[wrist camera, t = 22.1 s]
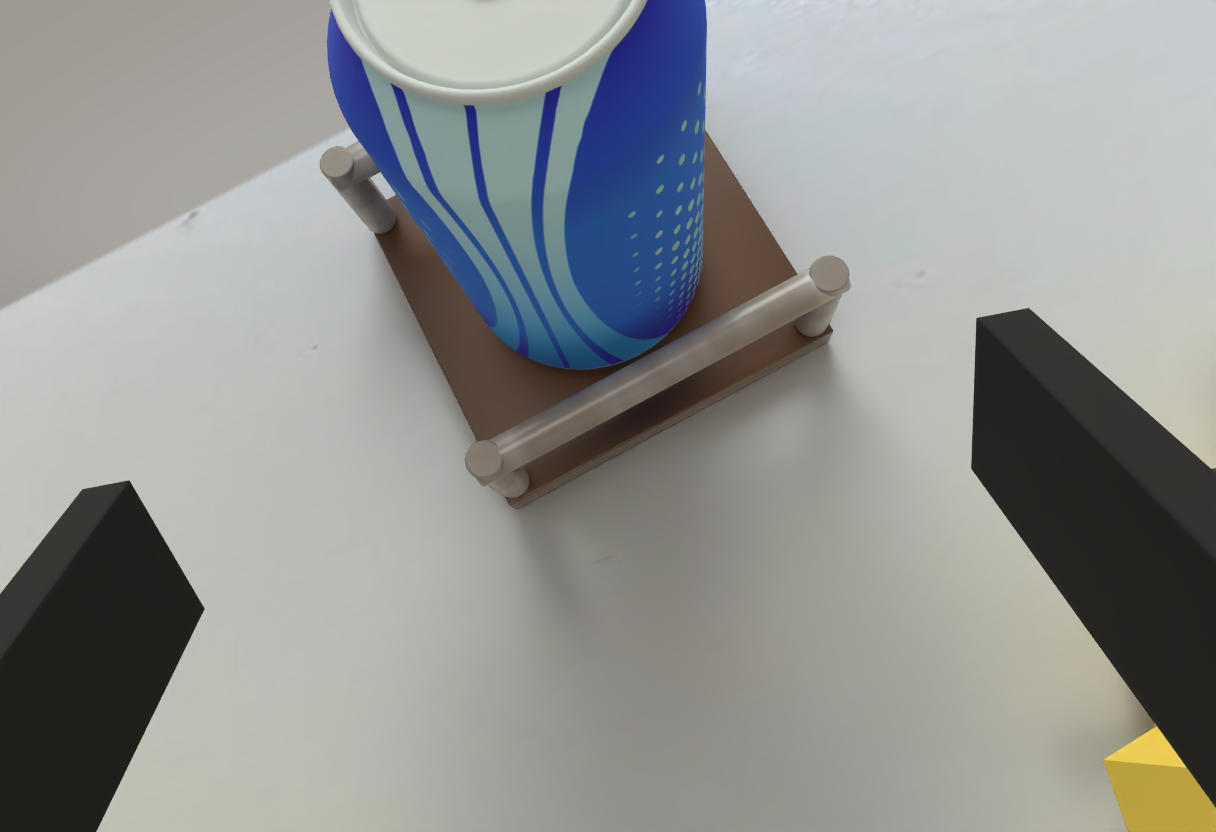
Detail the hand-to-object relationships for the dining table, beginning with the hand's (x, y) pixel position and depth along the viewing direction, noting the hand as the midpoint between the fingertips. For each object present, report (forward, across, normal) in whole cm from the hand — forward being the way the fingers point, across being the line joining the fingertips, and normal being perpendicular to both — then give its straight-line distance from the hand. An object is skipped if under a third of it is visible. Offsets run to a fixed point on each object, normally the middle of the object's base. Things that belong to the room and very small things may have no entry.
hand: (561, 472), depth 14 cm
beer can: (+19, 0, -4) cm, 20 cm away
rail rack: (+20, 0, -5) cm, 21 cm away
